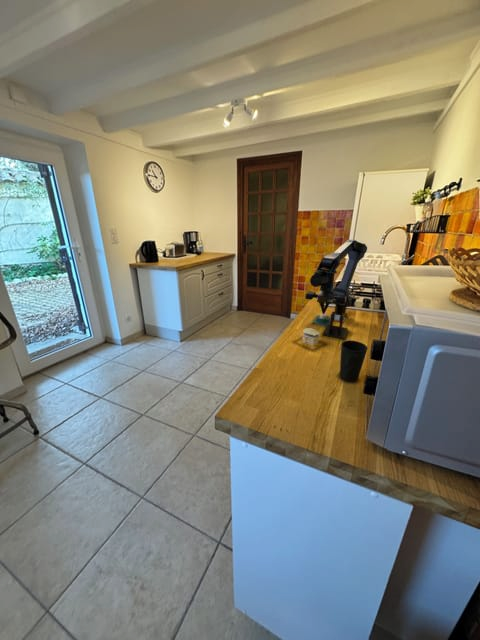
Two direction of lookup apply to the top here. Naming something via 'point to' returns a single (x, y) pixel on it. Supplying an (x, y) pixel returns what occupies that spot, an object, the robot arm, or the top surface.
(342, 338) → the toaster bracket
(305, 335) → the stacked layers on plate
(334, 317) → the press lever
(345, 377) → the cup
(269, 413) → the top surface
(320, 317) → the button
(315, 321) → the button housing
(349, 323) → the top surface
